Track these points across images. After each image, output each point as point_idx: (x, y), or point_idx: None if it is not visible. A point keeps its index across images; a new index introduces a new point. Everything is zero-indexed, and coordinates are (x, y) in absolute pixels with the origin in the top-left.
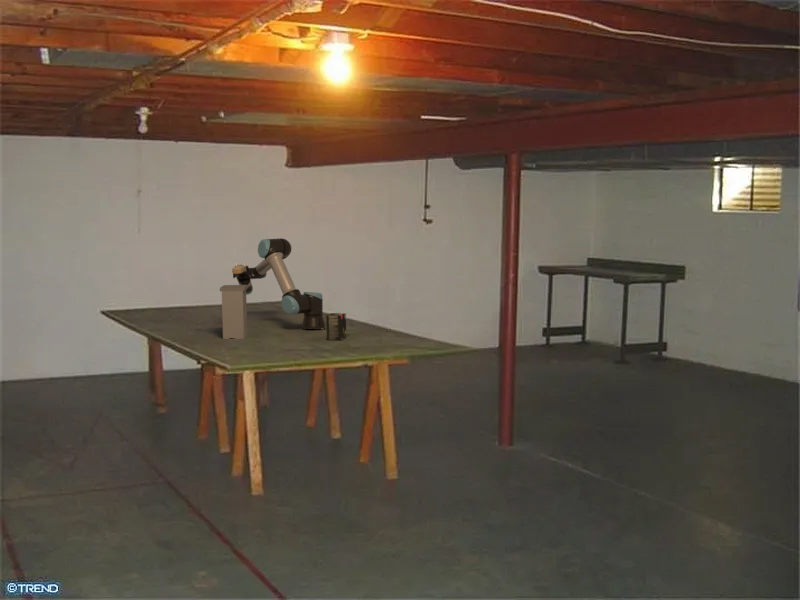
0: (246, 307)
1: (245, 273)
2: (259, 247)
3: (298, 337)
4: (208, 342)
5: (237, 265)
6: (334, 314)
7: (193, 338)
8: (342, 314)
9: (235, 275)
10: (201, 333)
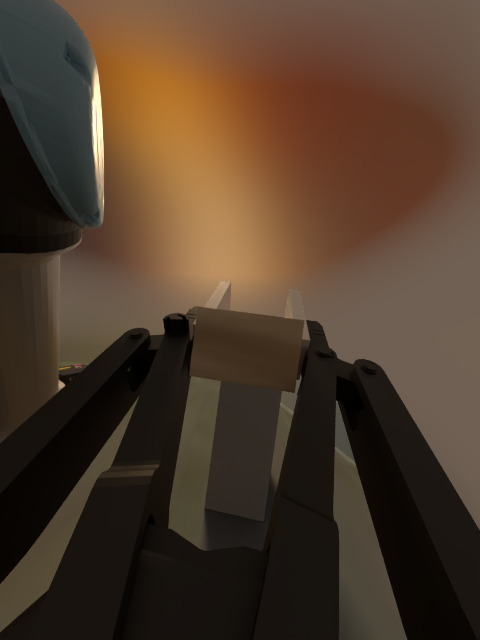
0: (215, 426)
1: (171, 465)
2: (96, 112)
3: (112, 437)
4: (283, 443)
5: (289, 313)
6: (81, 367)
7: (336, 491)
8: (67, 366)
9: (407, 614)
10: (373, 596)
